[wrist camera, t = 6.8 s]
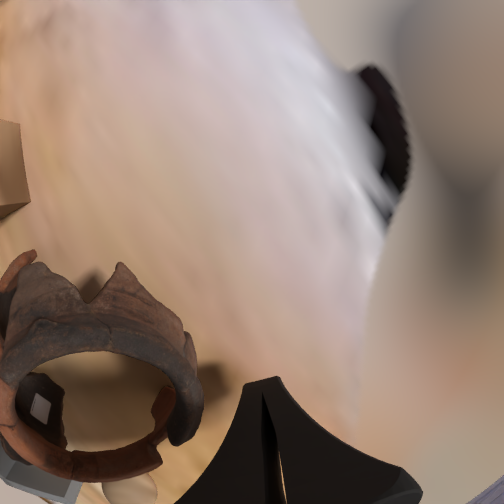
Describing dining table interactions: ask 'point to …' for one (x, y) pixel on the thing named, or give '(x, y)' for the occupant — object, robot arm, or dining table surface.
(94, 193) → the dining table surface
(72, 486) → the corral
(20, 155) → the walnut block
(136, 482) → the cork ball
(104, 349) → the pottery mug
